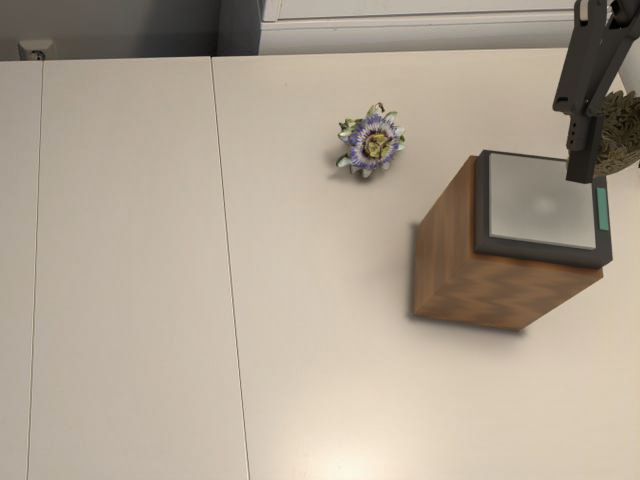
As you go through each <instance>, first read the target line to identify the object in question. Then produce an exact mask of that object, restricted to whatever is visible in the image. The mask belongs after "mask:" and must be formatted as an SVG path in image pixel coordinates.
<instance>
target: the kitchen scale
mask: <svg viewBox="0 0 640 480" xmlns="http://www.w3.org/2000/svg"><path fill="white" fill-rule="evenodd" d="M477 156H478V157H477V158H476V160H475V161H474V253H480V254H487V255H494V256H502V257H509V258H517V259H524V260H531V261H539V262H546V263H554V264H561V265H568V266H576V267H583V268H590V269H598V270H599V269H601V268H602V267H603V268H604V267H605V266H607V265H608V264H610V263H611V262H613V261H614V256H613V255H614V254H613V244H612V242H613V241H612V231H611V219H610V205H609V192H608V179H607V176H596V177H594V178H593V179H592V183H589V184H581V183H576V182H571V181H566V180H565V179H566V174H567V170H566V161H567V158H559V157H551V156H550V157H549V156H543V155H534V154H528V153H527V154H525V153H518V152H517V153H516V152H508V151H500V150H492V149H484V148H483V149H482V150H481V152H480V153H479V154H478V155H477Z"/></svg>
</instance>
